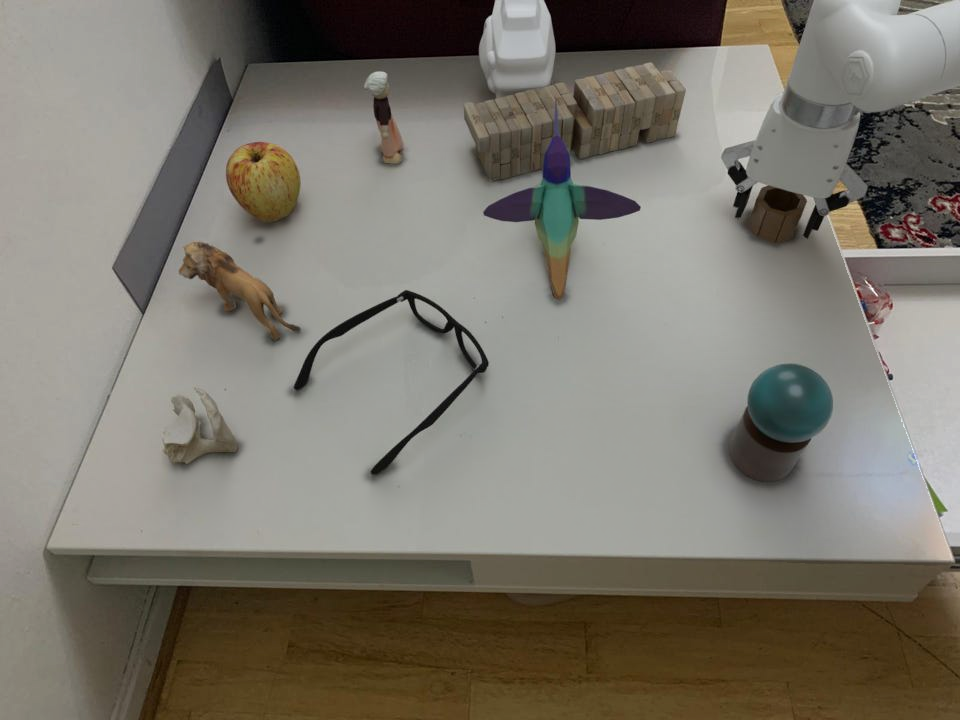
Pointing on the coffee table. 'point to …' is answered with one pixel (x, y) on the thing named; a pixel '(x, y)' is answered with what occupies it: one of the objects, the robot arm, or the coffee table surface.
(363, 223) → the coffee table surface
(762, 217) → the bronze ring
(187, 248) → the lion figurine
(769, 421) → the ball stand
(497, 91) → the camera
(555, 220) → the decorative sculpture
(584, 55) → the coffee table surface
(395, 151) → the grandmother figurine
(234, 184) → the apple
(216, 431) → the bone
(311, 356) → the glasses
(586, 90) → the block tower
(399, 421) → the coffee table surface
